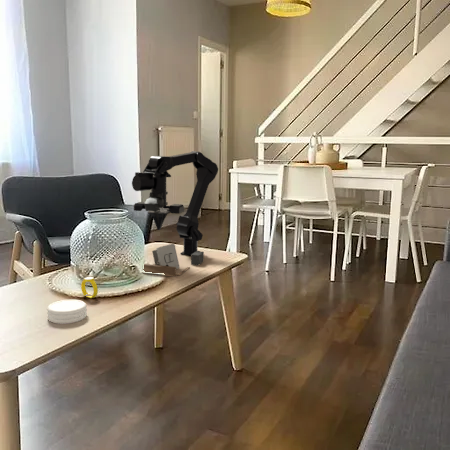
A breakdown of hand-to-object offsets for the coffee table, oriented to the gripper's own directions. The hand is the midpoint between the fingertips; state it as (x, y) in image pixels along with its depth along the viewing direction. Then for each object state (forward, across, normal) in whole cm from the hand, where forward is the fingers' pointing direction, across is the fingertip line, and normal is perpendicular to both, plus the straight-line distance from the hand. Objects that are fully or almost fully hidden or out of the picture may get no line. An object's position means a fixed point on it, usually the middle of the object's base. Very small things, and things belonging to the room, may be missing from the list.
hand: (158, 229), depth 187 cm
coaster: (+12, +1, -63) cm, 64 cm away
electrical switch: (+12, +8, -12) cm, 19 cm away
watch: (+12, -2, -47) cm, 49 cm away
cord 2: (+12, +16, +1) cm, 20 cm away
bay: (+12, +8, -12) cm, 19 cm away
